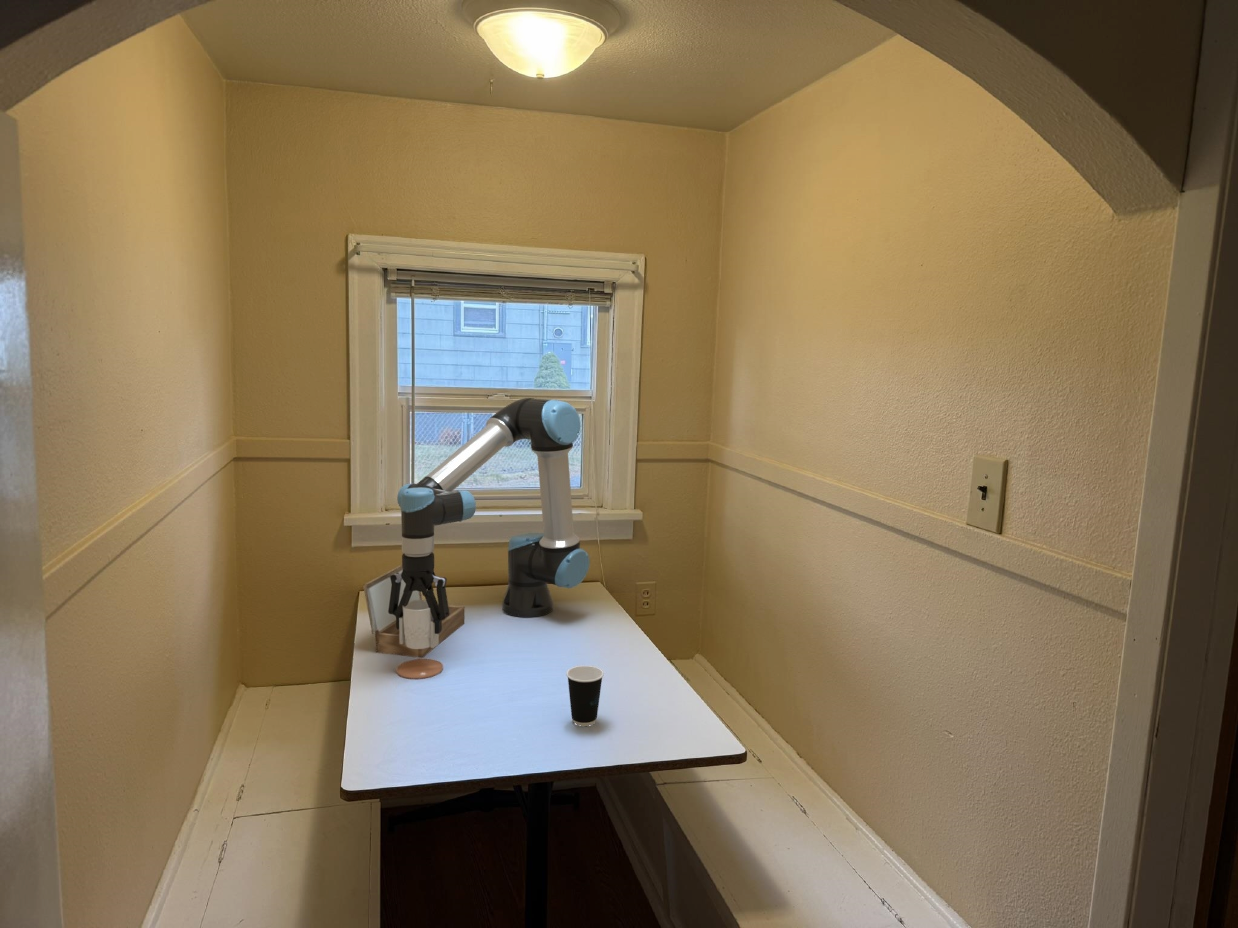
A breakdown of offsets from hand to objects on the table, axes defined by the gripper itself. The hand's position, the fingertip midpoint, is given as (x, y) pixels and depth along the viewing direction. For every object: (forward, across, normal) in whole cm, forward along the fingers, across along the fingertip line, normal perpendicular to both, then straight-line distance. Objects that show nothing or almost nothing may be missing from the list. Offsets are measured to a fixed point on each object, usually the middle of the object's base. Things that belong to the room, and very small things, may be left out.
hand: (419, 643), depth 193 cm
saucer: (+7, 0, 0) cm, 7 cm away
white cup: (0, 0, 0) cm, 1 cm away
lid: (-5, +17, -20) cm, 27 cm away
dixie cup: (+7, -46, +15) cm, 49 cm away
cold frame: (+7, +9, -20) cm, 23 cm away
